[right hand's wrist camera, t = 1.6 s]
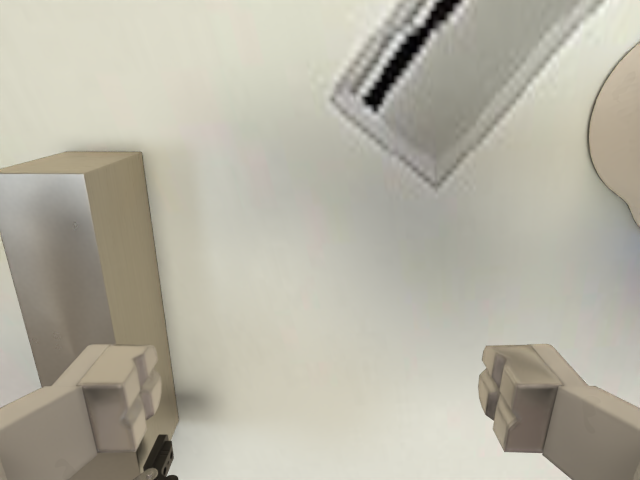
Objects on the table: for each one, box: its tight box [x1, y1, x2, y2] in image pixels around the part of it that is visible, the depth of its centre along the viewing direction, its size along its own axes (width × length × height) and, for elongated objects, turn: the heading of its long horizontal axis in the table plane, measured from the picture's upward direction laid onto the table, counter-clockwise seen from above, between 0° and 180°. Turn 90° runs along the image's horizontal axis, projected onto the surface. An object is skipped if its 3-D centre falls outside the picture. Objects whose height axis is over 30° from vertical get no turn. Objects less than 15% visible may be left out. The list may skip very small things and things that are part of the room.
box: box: [0, 152, 179, 480], centre depth 35 cm, size 28×6×9 cm, turn 0°
